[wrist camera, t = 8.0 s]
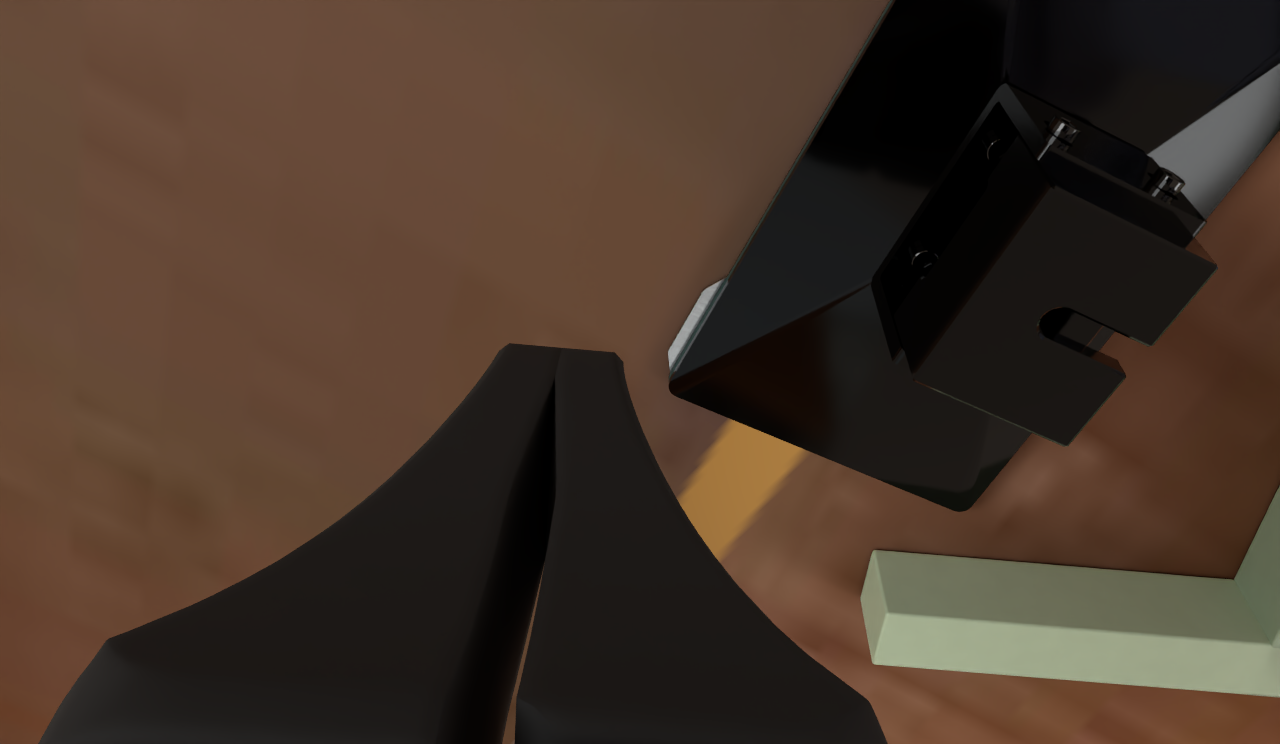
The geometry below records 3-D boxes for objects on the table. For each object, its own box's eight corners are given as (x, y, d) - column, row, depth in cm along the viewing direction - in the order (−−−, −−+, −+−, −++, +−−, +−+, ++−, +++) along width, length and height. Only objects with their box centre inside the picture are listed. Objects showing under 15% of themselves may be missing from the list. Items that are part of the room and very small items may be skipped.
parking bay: (1750, -341, 17) (1870, -336, 15) (1252, 631, 27) (1291, 699, 25) (1117, -410, 16) (1169, -411, 15) (859, 598, 27) (871, 665, 25)
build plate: (960, 501, 25) (1010, 667, 22) (651, 373, 24) (645, 527, 20) (1401, -36, 19) (1585, 62, 15) (1019, -258, 18) (1116, -212, 14)
